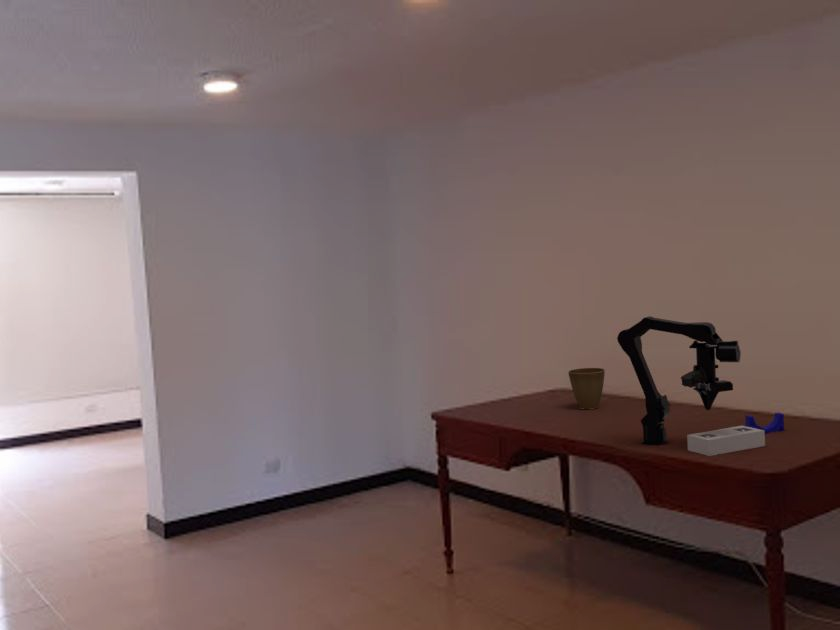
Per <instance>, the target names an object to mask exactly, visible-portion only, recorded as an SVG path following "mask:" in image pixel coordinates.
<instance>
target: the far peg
mask: <svg viewBox="0 0 840 630" xmlns="http://www.w3.org/2000/svg"><path fill="white" fill-rule="evenodd" d="M736 430H737V431H741V432H744V431H750V429H747V428H739V429H736Z"/></svg>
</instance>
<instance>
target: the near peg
mask: <svg viewBox="0 0 840 630" xmlns="http://www.w3.org/2000/svg"><path fill="white" fill-rule="evenodd" d="M701 437H705V438H710V437H715V435H712V434H704V435H701Z"/></svg>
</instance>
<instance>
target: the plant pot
mask: <svg viewBox="0 0 840 630" xmlns="http://www.w3.org/2000/svg"><path fill="white" fill-rule="evenodd" d="M605 371H606V369H604V368H601V367H584V368H575V369H571V370H568V371H567V373H568V378H569V382H570V385H571V389H572V392H573V395H574V397H575V400H576V402H577V405H578V407H579V409H580V408H584V409H590V408H597V407H598V408H599V406H600V403H601V398H602V395H603V389H604V382H605V381H604V380H605ZM598 408H597V409H598Z"/></svg>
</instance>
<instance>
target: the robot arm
mask: <svg viewBox="0 0 840 630" xmlns="http://www.w3.org/2000/svg"><path fill="white" fill-rule="evenodd" d="M650 330H652V331H658V332H663V333H664V332H665V333H671V334H676V335H682V336H684V337H687V338H689V339H692V340H694V341H693V342H692V343H691V344H690V345H689V346H688V347H689V349H695V350H696V351H695V355H696V356H695V358H696V364H694V365H693V366H692V368H693V370H691V371H688V372H687V373H685V374H684V375H681V377H680V380H681V386H683V387H688V388H692V390H694V391H695V392H697V393H698V394H699V396H700V398H701V401H702V403H703V407H704V409H705V410H706V411H710V410H711V408H712V406H713V404H714V402H715V399H716V398H717V396H718V394H719V393H721V392H728V391H729V392H730V391H734V383H732V382H731V381H729V380H725V379H724V380H723V379H722V380H721V379H720V378H719V377H718V376H717V375H716V374H717V373H716V372H717V370H716V369H719V365H718V364H716V360H717V361H719V362H720V363H740V361H741V348H740V345H739V341H738V340H731V341H730V340H729V341H724V340H723V339H722V338H721V337H720V335H719V334H718V333H717V332H716V331H717V330H716V327H715V326H714V324H713V323H711V322H704V321H703V322H702V321H700V322H699V321H698V322H683V321H679V320H678V321H677V320H676V321H675V320H671V319H665V318H658V317H654V316H646V317H643V318H642V319H641V320H640V321H638V322H637V323H636V324H634V325H632V326H631V327H629V328H626V329H623V330H620V331H619V333H618V335H617V337H616V339H617V342H618V345H619V346H620V348H621V349H622V351H623V352H624V353H625V354H626V355H627V356H628V357H629V360H630V362H631V365H632V368H633V370H634V373H635V374H636V377H637V380H638V383H639V384H640V387H641V389H642V392H643V394H644V399H645V402H644V403H645V410H646V414H645V415H644V416H643V417H642V418H641V419H640V424H641V425H642V431H643V432H642V433H643V440H642V441H641V444H647V445H648V444H649V445H661V444H664V443H666V442H667V441H668V439H667V429H666V427H665V423H664V422H665V419H666V418H668V416H669V415H670V413H671V408H670V407H671V406H672V404H670V402H669V400H668V396H667V395H666V394H664V395H662V394H661V393H660V392H659V391H658V388H657V386H656V384H655V381H654V378H653V375H652V373H651V371H650V369H649V366H648V363H647V361H646V359H645V356H644V354H643V342H642V339H641V337H643V336H644V335H646V333H648V331H650Z"/></svg>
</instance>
